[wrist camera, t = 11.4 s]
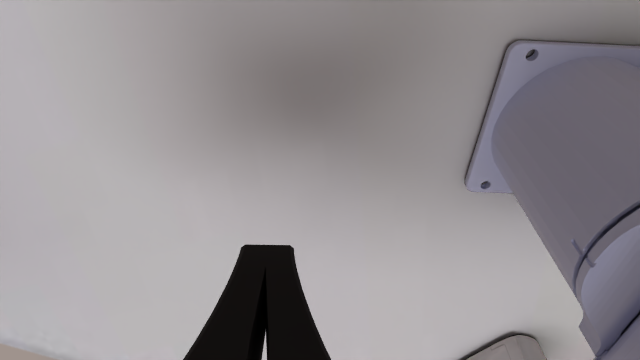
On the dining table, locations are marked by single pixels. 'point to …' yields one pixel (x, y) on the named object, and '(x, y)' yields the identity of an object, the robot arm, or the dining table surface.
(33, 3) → the dining table surface
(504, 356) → the photo printer
